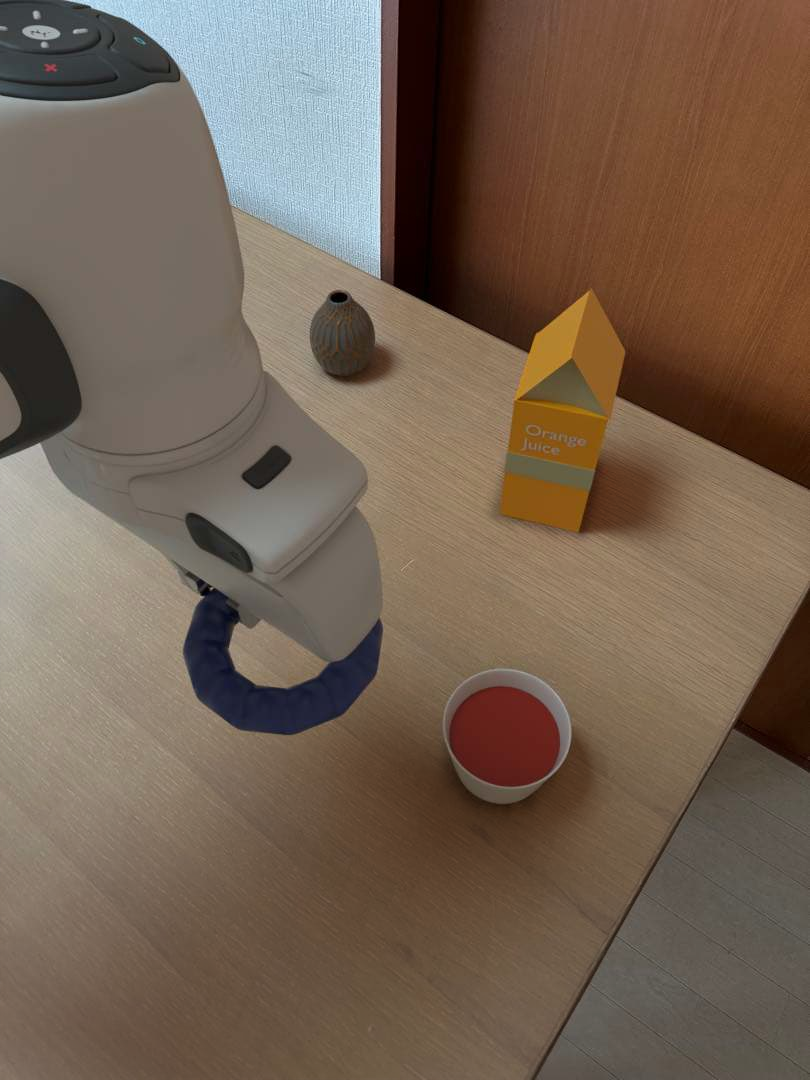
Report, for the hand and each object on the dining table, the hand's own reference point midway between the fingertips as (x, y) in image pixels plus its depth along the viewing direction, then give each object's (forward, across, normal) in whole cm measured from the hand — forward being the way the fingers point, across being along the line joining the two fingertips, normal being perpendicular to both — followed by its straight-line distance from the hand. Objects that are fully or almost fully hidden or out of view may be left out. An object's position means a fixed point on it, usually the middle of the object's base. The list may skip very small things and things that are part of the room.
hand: (227, 598), depth 47 cm
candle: (+21, +15, +9) cm, 27 cm away
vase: (+21, -23, +38) cm, 49 cm away
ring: (0, +4, 0) cm, 4 cm away
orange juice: (+21, +4, +35) cm, 41 cm away
